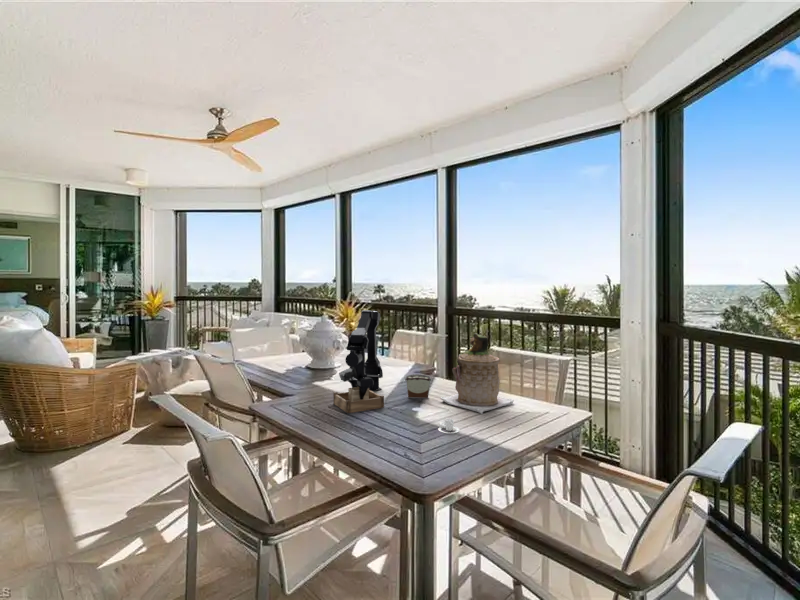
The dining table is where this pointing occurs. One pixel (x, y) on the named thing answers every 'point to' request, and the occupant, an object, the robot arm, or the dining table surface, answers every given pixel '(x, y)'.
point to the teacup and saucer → (448, 426)
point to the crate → (358, 402)
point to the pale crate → (356, 394)
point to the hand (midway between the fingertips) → (358, 397)
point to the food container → (418, 385)
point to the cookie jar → (477, 379)
